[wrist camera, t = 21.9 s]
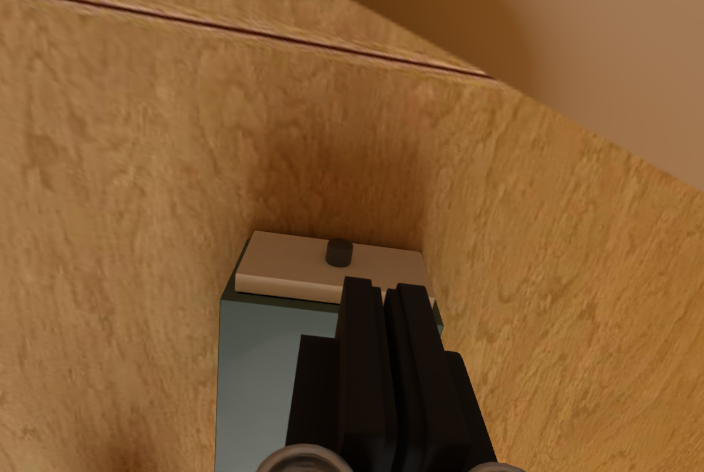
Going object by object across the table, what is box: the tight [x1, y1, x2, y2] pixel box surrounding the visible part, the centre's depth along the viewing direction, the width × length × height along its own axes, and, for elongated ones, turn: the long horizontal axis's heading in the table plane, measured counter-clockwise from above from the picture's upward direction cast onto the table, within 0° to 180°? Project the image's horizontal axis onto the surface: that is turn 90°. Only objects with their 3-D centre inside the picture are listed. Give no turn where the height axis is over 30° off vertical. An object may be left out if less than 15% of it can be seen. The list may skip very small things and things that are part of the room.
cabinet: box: [214, 240, 444, 472], centre depth 32 cm, size 15×13×8 cm
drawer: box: [235, 231, 435, 309], centre depth 31 cm, size 15×11×6 cm
